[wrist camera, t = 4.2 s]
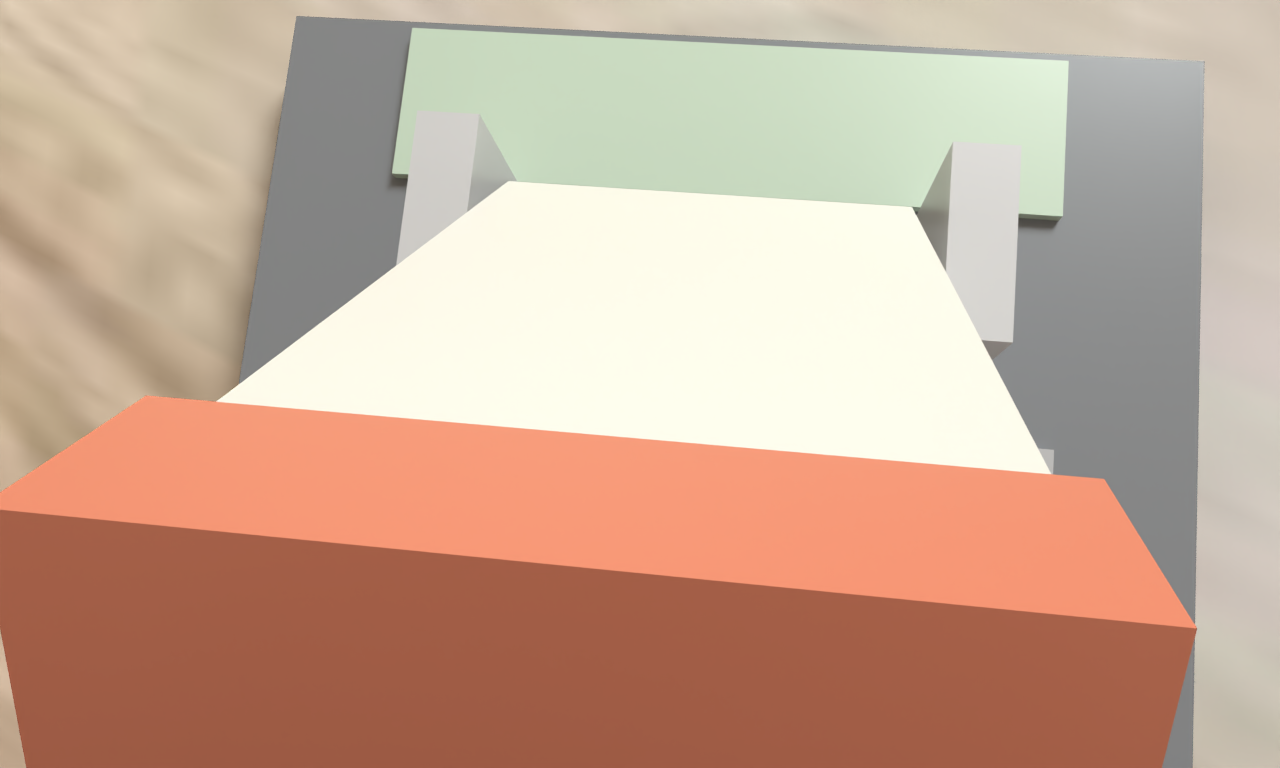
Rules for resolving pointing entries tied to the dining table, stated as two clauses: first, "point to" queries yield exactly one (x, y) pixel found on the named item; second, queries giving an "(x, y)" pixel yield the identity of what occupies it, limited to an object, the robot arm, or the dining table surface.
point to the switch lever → (596, 524)
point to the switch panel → (803, 170)
